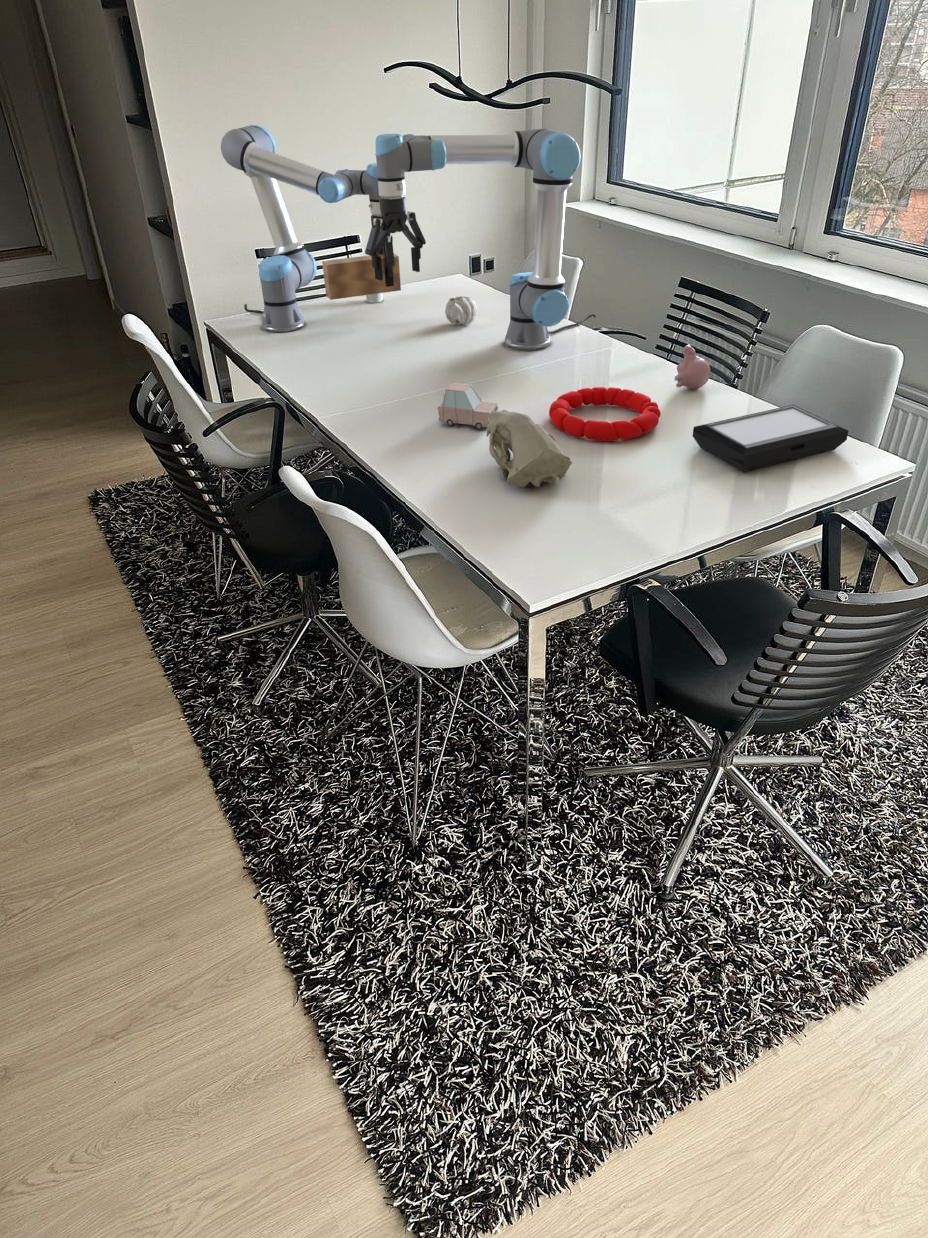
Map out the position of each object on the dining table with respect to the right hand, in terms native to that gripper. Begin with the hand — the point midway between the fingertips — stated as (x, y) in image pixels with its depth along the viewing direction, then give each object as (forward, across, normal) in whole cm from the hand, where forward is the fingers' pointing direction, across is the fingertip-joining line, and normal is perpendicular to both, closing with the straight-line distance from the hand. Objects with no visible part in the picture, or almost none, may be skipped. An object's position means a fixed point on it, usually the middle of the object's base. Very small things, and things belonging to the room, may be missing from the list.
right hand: (397, 275), depth 262 cm
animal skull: (+30, -21, -76) cm, 84 cm away
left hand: (+16, +30, +49) cm, 59 cm away
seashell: (+30, +48, +28) cm, 63 cm away
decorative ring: (+30, +16, -69) cm, 77 cm away
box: (+18, +22, +51) cm, 59 cm away
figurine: (+30, +53, -69) cm, 92 cm away
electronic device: (+30, +33, -110) cm, 118 cm away
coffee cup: (+30, +44, +78) cm, 94 cm away
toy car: (+30, -11, -44) cm, 54 cm away
